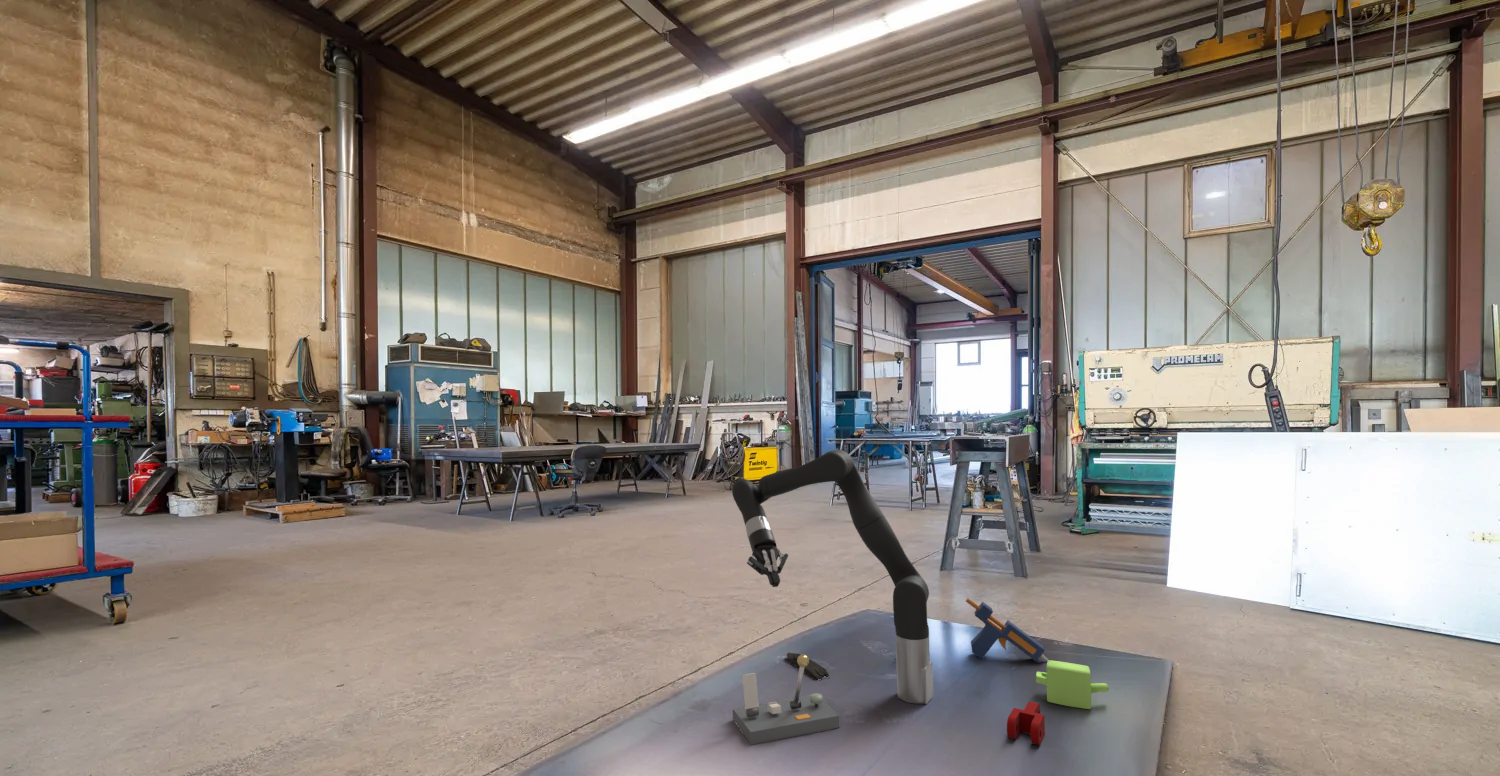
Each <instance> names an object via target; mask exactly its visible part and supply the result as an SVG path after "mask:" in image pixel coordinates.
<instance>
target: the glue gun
mask: <svg viewBox="0 0 1500 776" xmlns="http://www.w3.org/2000/svg"><path fill="white" fill-rule="evenodd" d="M965 603H967V604H968V605H970V607H972V608H974V609H975V610H974V616H975V617H976V618H977V619H978V620H980V621H981V622H983V624H984V626H983V628H982V629H981V630H980V631H979V632H978V633H977V634H976V635H975V637H974V638H972V640H970V645H971V652H972V654H974V655H975V656H977V657H979V659H984V657H985V656H986V655H987V654H988V652H989V651H990V649H991V648H992V647H993V645H995V643H996V642H997V641H998V642H999V644H1000V646H1001V647H1002V648H1003V649H1004V650H1005V651H1007V646H1006V644H1007V641H1008V642H1009V643H1010V644H1011V645H1013V646H1014V647H1016V648H1018V649H1019V650H1020V651H1022V652H1023V653H1025V655H1027V656H1029V658H1031V659H1032V660H1033V661H1034V662H1037V661H1038V660H1039V659H1040V658H1041V659H1043V660H1045V661H1046V662H1048V660H1049V659H1048V658H1047V657H1046V656H1045V655H1044V654H1043V653H1045V648H1044V646H1043V645H1042V644H1041V643H1039V642H1038V641H1037V640H1036V639H1034V638H1033V637H1031V635H1029V634H1028V633H1026V632H1025V631H1023V630H1022V629H1020V628H1019V627H1018V626H1017V625H1016V624H1014V623H1012V622H1011V621H1010V620H1007V621H1006V622H1005V623H1002V622H1001V621H1000V620H998V619H997V618H995V616H993V615H992V614H993V612H994V611H993V608H992V607H991V606H989V605H988V604H987V603H986V602H984V601H982V602H981V603H980V604H979V605H978V604H977V603H975V602H974V601H973V600H971V599H970V598H969V597H967V599H965Z"/></svg>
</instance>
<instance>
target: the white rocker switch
mask: <svg viewBox="0 0 1500 776" xmlns="http://www.w3.org/2000/svg"><path fill="white" fill-rule="evenodd" d="M767 708H768V711H769V712H770V713H772V714H777V713H781V706H780V705H779V704H777V702H773V701H770V703H768V704H767Z"/></svg>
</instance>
